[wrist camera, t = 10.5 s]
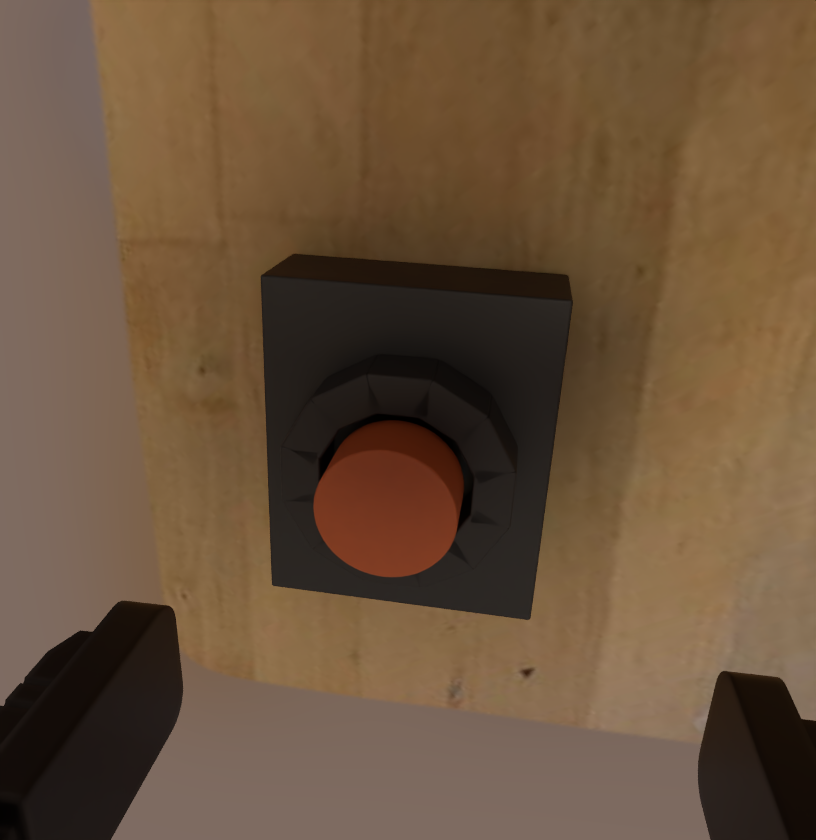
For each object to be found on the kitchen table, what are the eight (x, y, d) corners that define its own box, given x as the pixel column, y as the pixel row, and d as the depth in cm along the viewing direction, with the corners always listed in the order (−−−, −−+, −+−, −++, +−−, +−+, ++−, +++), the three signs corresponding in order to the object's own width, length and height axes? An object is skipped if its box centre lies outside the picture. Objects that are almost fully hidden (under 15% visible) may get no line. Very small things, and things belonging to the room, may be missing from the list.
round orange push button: (331, 412, 22) (312, 442, 20) (469, 426, 21) (463, 458, 19) (330, 530, 23) (313, 568, 22) (459, 546, 23) (452, 586, 21)
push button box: (292, 253, 25) (237, 289, 20) (569, 274, 24) (576, 317, 19) (297, 537, 29) (253, 619, 25) (531, 566, 28) (529, 657, 24)
